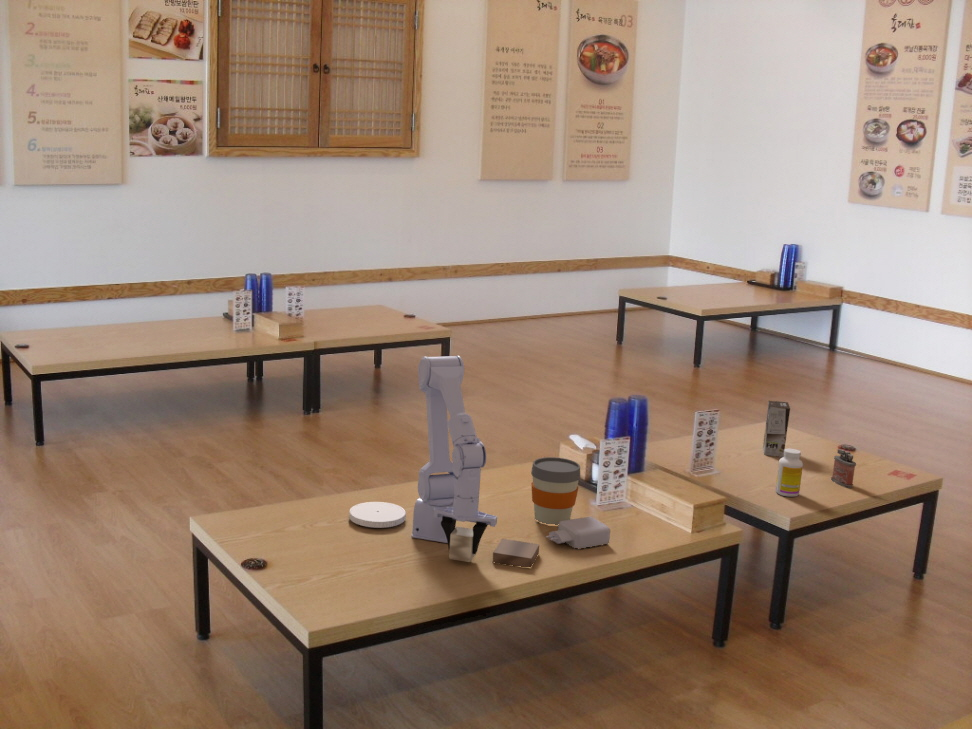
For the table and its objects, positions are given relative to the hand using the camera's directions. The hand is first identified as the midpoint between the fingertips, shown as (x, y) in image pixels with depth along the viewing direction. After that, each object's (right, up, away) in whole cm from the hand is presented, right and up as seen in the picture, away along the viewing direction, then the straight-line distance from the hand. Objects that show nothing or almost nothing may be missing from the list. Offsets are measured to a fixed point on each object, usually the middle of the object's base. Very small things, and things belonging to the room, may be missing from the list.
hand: (462, 550), depth 249 cm
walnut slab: (+12, -3, +5) cm, 13 cm away
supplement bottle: (+92, +5, +63) cm, 111 cm away
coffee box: (+98, +14, +103) cm, 143 cm away
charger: (+27, -1, +17) cm, 31 cm away
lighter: (+111, +7, +75) cm, 135 cm away
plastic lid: (-22, +3, +23) cm, 32 cm away
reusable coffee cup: (+22, +2, +30) cm, 38 cm away
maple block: (0, -1, 0) cm, 1 cm away
